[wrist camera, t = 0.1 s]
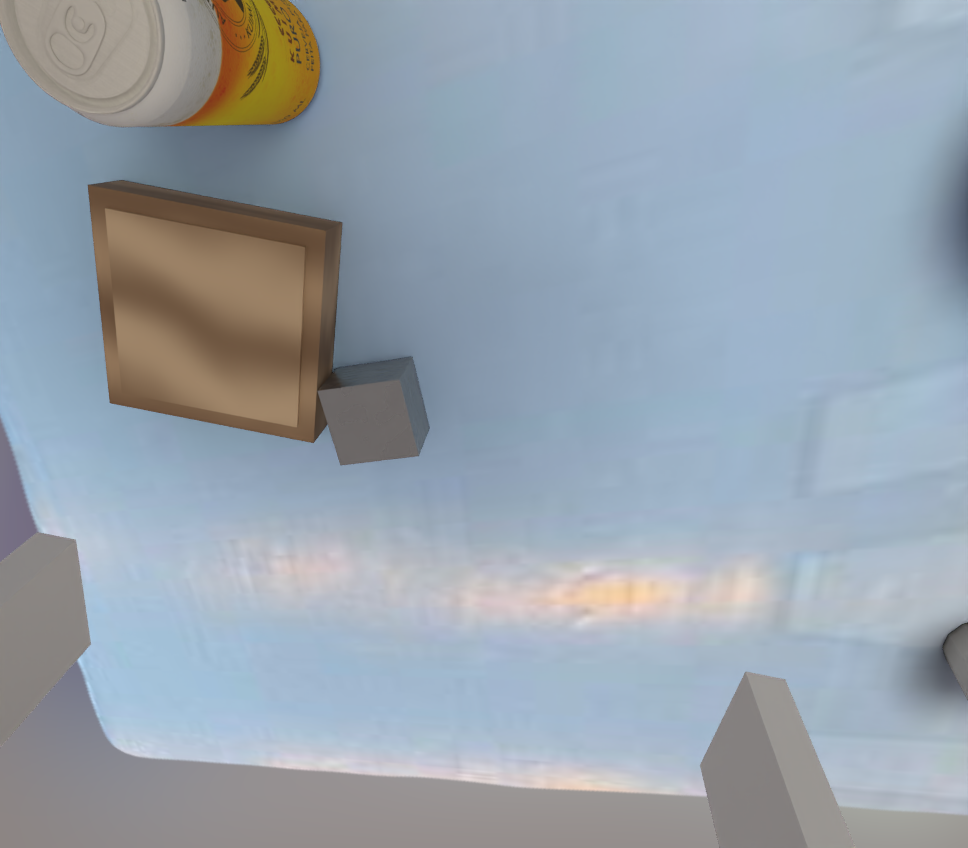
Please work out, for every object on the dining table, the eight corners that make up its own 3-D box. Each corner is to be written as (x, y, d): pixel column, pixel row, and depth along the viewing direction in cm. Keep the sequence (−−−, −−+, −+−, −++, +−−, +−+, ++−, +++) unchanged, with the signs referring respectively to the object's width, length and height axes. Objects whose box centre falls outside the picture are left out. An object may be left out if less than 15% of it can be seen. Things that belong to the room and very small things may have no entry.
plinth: (121, 180, 37) (84, 185, 34) (342, 222, 37) (324, 231, 34) (137, 385, 42) (107, 404, 40) (328, 422, 42) (312, 444, 39)
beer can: (347, 53, 33) (207, 7, 19) (284, 149, 35) (120, 167, 22) (250, -40, 32) (27, -157, 18) (191, 66, 34) (-46, 32, 20)
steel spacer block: (337, 366, 41) (317, 391, 37) (413, 356, 40) (399, 379, 36) (358, 436, 43) (340, 465, 39) (430, 427, 42) (418, 456, 38)
